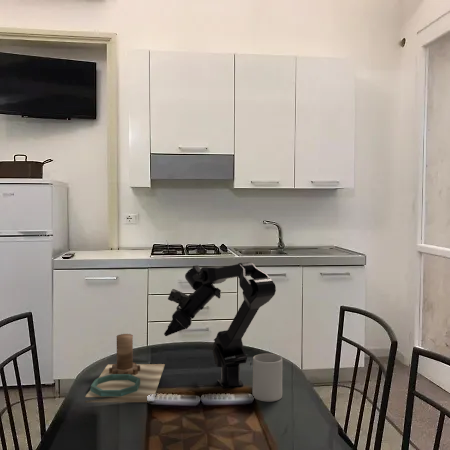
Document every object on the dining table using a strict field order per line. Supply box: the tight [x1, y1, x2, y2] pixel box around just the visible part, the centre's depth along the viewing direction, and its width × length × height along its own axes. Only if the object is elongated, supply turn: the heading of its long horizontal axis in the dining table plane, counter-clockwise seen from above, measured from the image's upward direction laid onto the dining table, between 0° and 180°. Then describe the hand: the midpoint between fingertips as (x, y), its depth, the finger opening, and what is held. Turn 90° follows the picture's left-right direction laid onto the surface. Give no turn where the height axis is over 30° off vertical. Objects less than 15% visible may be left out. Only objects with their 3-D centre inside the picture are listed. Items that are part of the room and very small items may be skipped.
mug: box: [251, 353, 283, 403], centre depth 135 cm, size 12×8×11 cm
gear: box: [109, 333, 140, 375], centre depth 149 cm, size 10×10×12 cm
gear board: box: [84, 363, 166, 403], centre depth 142 cm, size 27×19×3 cm
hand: (166, 331), depth 154 cm, fingers open, 9 cm apart
